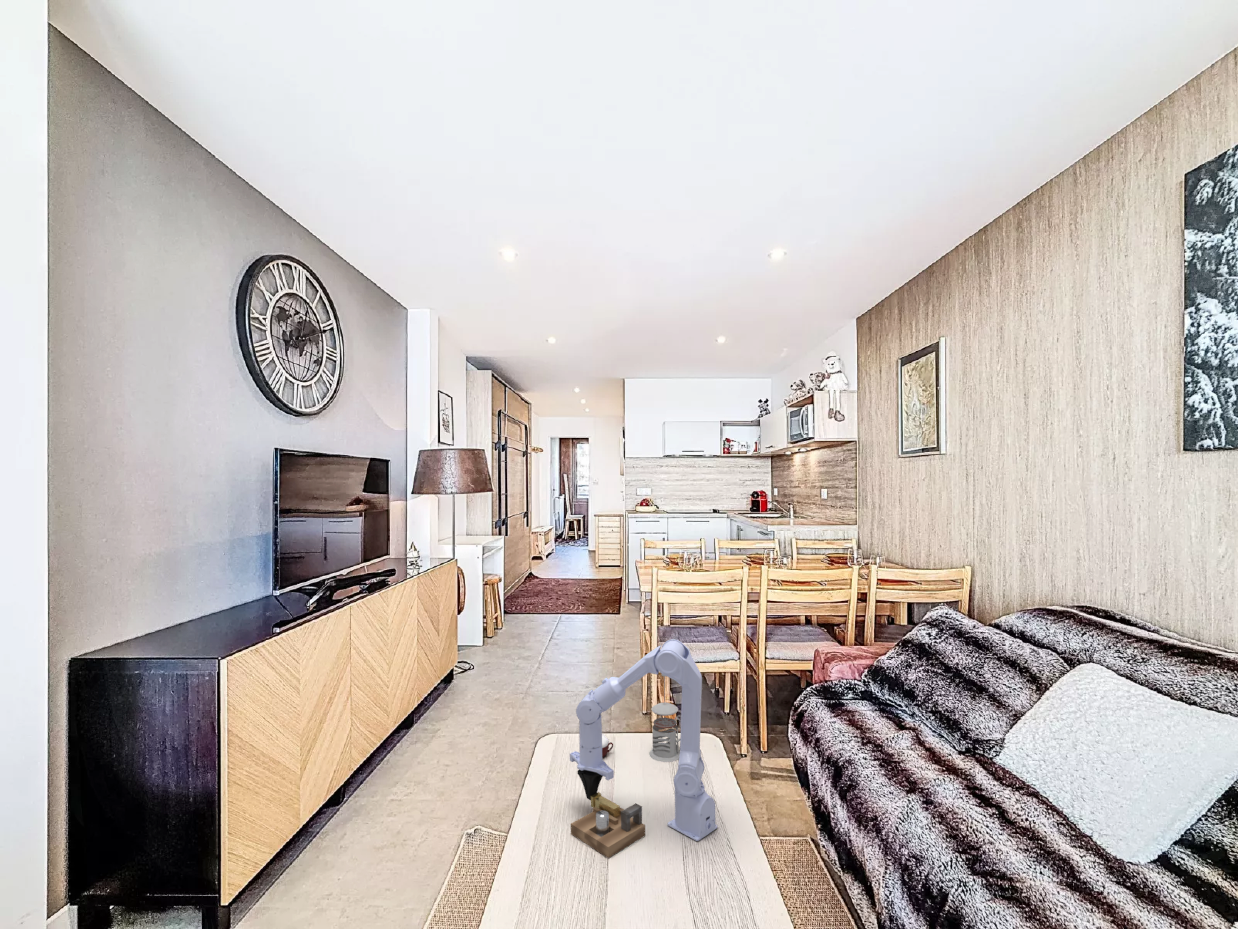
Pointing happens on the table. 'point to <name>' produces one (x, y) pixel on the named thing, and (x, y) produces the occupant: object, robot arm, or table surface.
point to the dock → (611, 830)
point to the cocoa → (605, 745)
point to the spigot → (602, 823)
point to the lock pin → (605, 805)
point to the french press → (669, 749)
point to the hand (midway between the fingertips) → (591, 797)
